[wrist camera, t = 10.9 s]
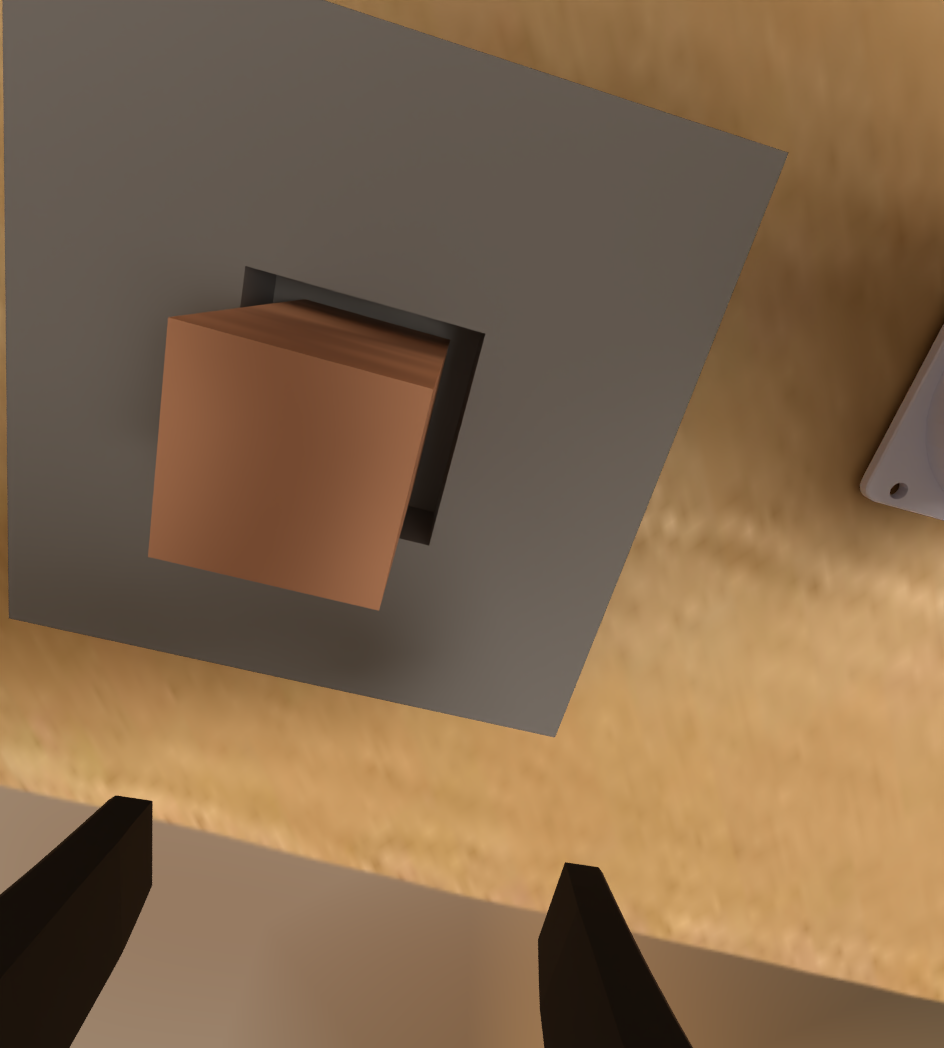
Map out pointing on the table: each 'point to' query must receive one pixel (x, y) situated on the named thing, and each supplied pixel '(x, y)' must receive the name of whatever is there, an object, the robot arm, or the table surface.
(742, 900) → the table surface
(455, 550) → the socket block
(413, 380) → the square peg
